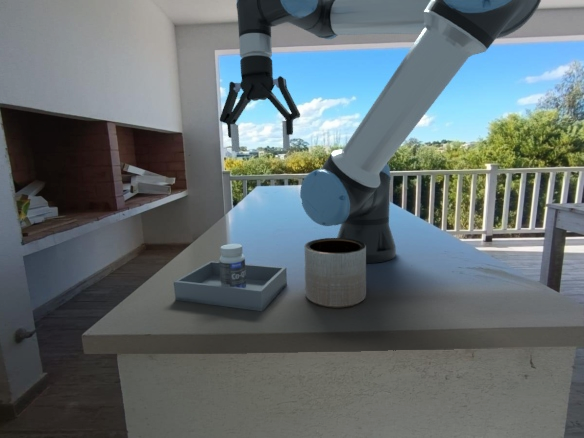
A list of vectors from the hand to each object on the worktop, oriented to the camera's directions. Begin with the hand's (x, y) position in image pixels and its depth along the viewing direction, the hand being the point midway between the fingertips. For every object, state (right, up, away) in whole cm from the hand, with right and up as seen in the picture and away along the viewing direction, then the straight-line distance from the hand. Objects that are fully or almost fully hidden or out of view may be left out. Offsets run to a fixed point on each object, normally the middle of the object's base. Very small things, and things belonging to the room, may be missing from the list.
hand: (260, 150), depth 83 cm
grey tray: (-3, -31, -19) cm, 36 cm away
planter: (+16, -31, -22) cm, 41 cm away
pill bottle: (-3, -30, -19) cm, 36 cm away
